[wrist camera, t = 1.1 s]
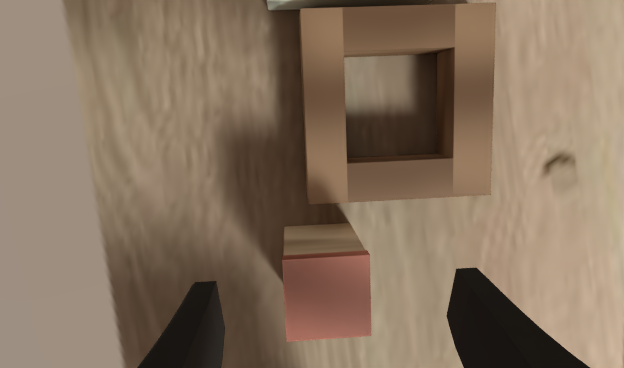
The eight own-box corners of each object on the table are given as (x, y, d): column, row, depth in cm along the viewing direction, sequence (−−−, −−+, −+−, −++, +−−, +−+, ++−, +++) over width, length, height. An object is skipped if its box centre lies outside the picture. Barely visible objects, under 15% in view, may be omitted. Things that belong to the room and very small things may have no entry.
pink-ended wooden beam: (352, 285, 24) (371, 335, 19) (286, 290, 24) (286, 341, 19) (350, 222, 24) (369, 254, 18) (283, 225, 23) (282, 260, 18)
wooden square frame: (470, 186, 24) (490, 194, 21) (306, 195, 23) (308, 204, 21) (473, 14, 22) (496, 2, 20) (298, 19, 22) (300, 8, 19)
